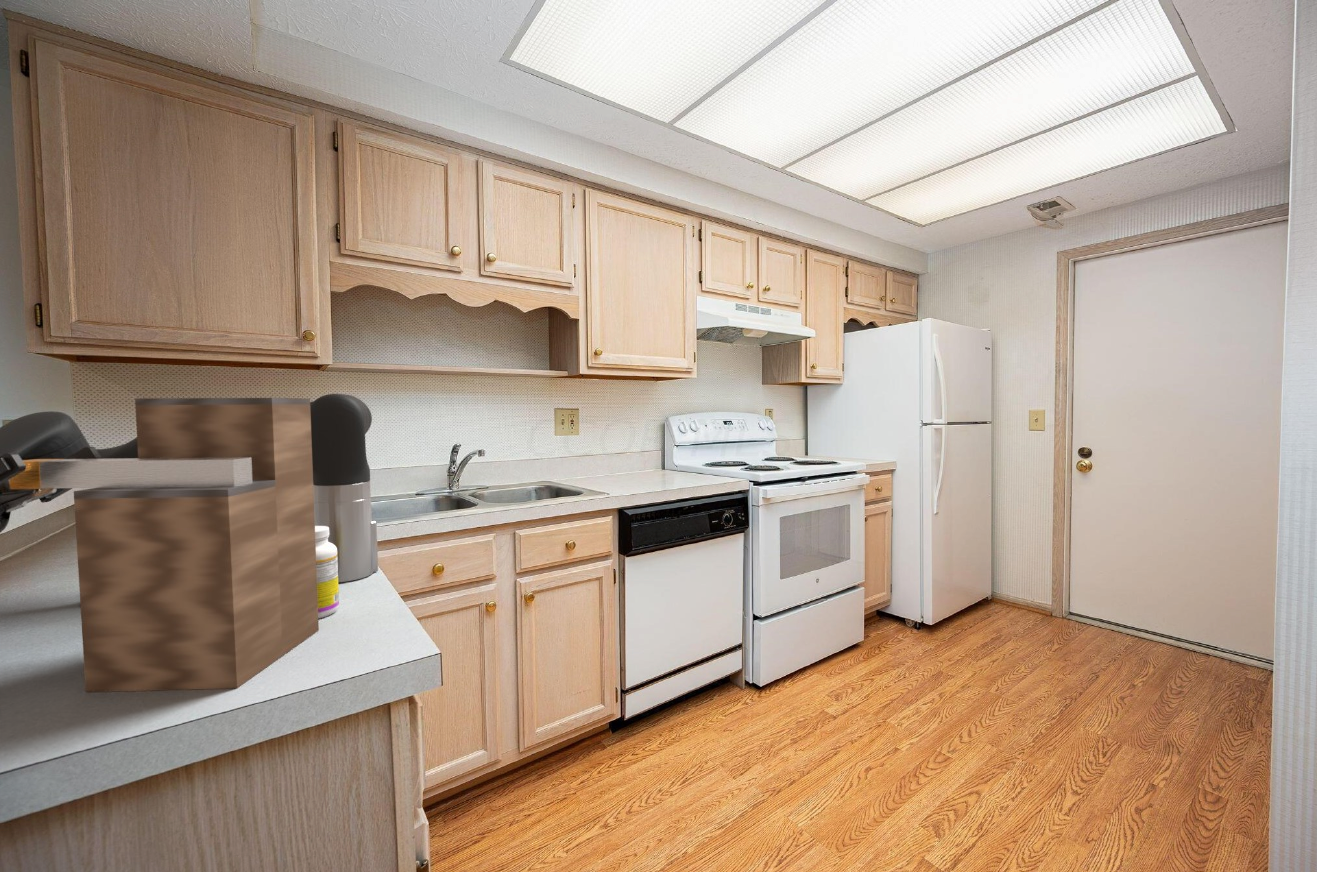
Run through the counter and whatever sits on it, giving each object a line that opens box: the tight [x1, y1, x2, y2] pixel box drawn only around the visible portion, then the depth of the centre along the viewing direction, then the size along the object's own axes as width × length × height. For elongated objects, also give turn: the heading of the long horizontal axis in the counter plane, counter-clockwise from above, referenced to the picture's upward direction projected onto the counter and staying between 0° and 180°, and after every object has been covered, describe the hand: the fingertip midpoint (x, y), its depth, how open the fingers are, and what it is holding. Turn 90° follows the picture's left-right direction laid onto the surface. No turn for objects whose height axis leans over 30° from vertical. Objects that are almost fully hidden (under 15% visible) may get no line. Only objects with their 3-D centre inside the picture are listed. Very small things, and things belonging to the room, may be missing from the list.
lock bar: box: [9, 457, 253, 489], centre depth 64 cm, size 24×3×3 cm, turn 92°
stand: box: [73, 397, 320, 693], centre depth 69 cm, size 16×16×32 cm
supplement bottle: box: [315, 526, 340, 620], centre depth 84 cm, size 7×7×13 cm
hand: (59, 456), depth 64 cm, fingers open, 8 cm apart
